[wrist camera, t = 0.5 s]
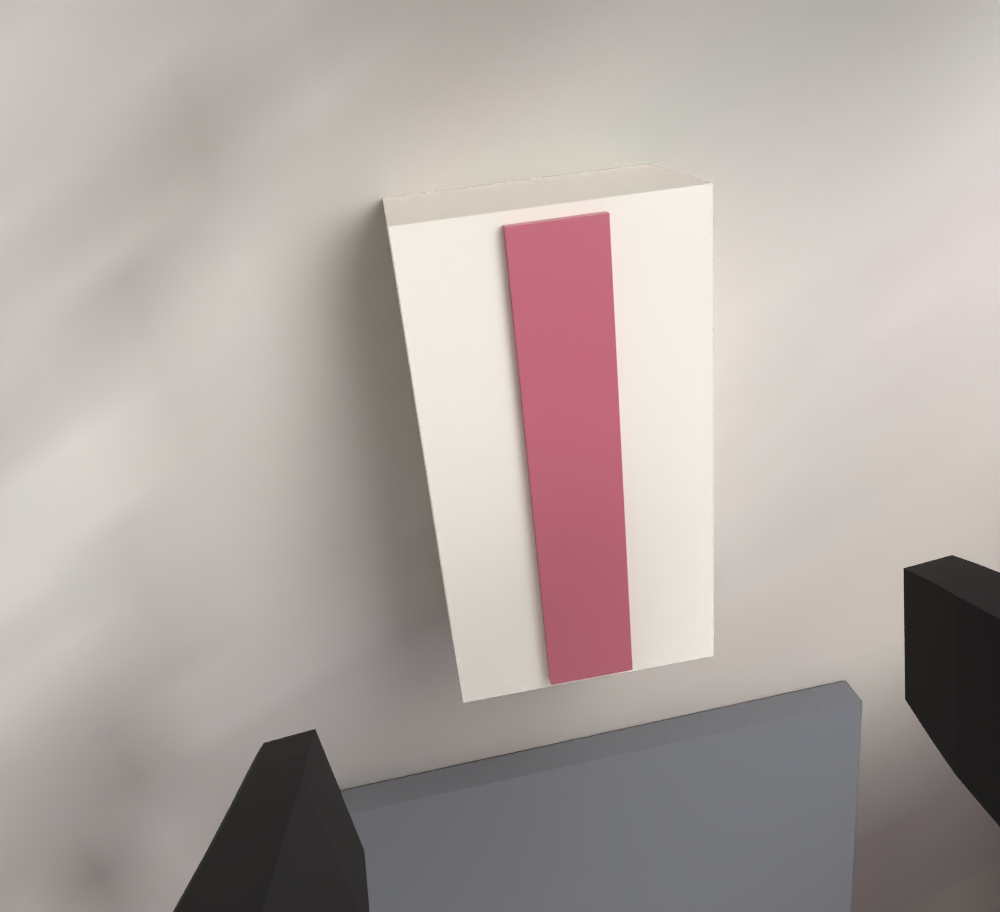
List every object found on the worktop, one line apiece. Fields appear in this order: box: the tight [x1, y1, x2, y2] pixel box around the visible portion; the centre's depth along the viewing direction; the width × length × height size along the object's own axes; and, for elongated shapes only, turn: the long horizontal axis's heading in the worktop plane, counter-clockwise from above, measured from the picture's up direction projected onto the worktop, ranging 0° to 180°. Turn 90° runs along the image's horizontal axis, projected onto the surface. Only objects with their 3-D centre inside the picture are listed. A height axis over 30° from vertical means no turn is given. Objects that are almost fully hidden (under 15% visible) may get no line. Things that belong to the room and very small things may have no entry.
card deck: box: [382, 164, 714, 703], centre depth 16 cm, size 5×9×4 cm, turn 6°
